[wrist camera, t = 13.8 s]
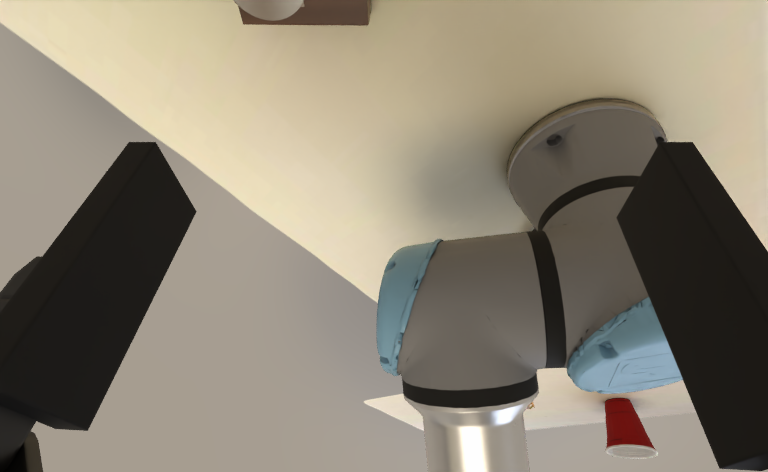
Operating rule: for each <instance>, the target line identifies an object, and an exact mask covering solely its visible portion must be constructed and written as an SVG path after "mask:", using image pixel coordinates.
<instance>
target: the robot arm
mask: <svg viewBox="0 0 768 472" xmlns="http://www.w3.org/2000/svg"><path fill="white" fill-rule="evenodd" d="M507 178H508V183H509V188H510V191H511V194H512V196H513V198H514V200H515V202H516V203H517V204H518V206H519V207H520V208H521V209H522V211H523V212H524V214H525V215H526V216H527V218H528V219H529V221H530V222H531V223H532V225H533V226H534V227H535V229H534V230H533V231H532V232H521V233H512V234H503V235H494V236H484V237H475V238H466V239H457V240H447V241H443V240H442V239H437V240H435V241H434V242H431V243H425V244H418V245H412V246H406V247H403V248H401V249H399V250H398V251H396V252H395V253H394V254H393V255H392V257H391V258H390V260H389V262H388V264H387V266H386V268H385V271H384V275H383V278H382V282H381V287H380V292H379V299H378V309H377V348H378V353H379V355H380V363H381V366H382V368H383V369H384V371H386V372H387V373H391V374H392V375H394V376H397V375H400V374H401V376H402V381H403V394H404V398H405V400H406V401H407V402H408V403H409V404H410V405H411V406H413V407H414V408H415V409H416V410H417V411H418V412H419V413H420V414H421V415H422V416H423V423H424V433H425V445H426V454H427V466H428V472H530V468H529V461H528V452H527V444H526V436H525V428H524V420H523V412H524V410H525V409H526V408H527V407H528V405H529V404H530V403H531V402H532V401H533V400H534V399H535V398H536V397H537V395H538V393H539V390H538V382H537V374H536V371H537V369H543V368H567V373H568V376H569V377H570V378H571V379H572V380H573V382H574V384H575V385H576V386H577V387H579V388H580V389H582V390H585V391H588V392H593V391H597V392H598V393H602V394H616V393H627V392H635V391H641V390H646V389H651V388H656V387H660V386H664V385H668V384H671V383H674V382H678V381H680V380H683V381H684V383H685V386H686V388H687V390H688V393H689V395H690V398H691V400H692V403H693V405H694V407H695V410H696V412H697V415H698V417H699V420H700V422H701V425H702V427H703V429H704V432H705V434H706V437H707V439H708V442H709V444H710V446H711V449H712V451H713V454H714V456H715V458H716V461H717V463H718V466H719V468H722V469H738V470H754V471H763V470H766V469H768V251H767V250H766V249H765V247H764V246H763V244H762V243H761V241H760V240H759V238H758V237H757V235H756V234H755V233H754V231H753V230H752V228H751V227H750V225H749V224H748V222H747V221H746V219H745V218H744V217H743V215H742V214H741V212H740V211H739V209H738V208H737V206H736V205H735V203H734V202H733V200H732V199H731V198H730V196H729V195H728V193H727V192H726V190H725V189H724V187H723V186H722V184H721V183H720V182H719V180H718V179H717V177H716V176H715V174H714V173H713V171H712V170H711V168H710V167H709V166H708V164H707V163H706V161H705V160H704V158H703V157H702V155H701V154H700V152H699V151H698V149H697V148H696V147H695V145H694V144H693V142H667V138H666V135H665V133H664V131H663V129H662V127H661V126H660V124H659V122H658V121H657V119H656V118H655V117H654V115H653V114H652V113H651V112H649V111H648V110H647V109H645V108H644V107H642V106H640V105H638V104H635V103H633V102H629V101H625V100H618V99H598V100H590V101H585V102H581V103H577V104H574V105H571V106H568V107H565V108H563V109H560V110H558V111H556V112H554V113H552V114H550V115H548V116H547V117H545V118H543V119H542V120H541V121H539V122H538V123H536V124H535V125H534V126H533V127H531V128H530V129H529V130H528V131H527V132H526V133H525V134H524V135H523V136H522V137H521V139H520V140H519V141H518V142H517V144H516V145H515V147H514V149H513V151H512V153H511V155H510V158H509V160H508V165H507ZM195 213H196V210H195V208H194V207H193V205H192V203H191V202H190V200H189V198H188V196H187V195H186V193H185V191H184V190H183V188H182V186H181V185H180V183H179V181H178V179H177V178H176V176H175V174H174V173H173V171H172V170H171V168H170V166H169V164H168V162H167V161H166V159H165V158H164V156H163V154H162V152H161V151H160V149H159V147H158V146H157V144H156V142H129V143H128V144H127V146H126V147H125V148H124V150H123V151H122V152H121V154H120V155H119V156H118V158H117V159H116V160H115V162H114V163H113V165H112V166H111V167H110V168H109V169H108V171H107V172H106V173H105V175H104V176H103V177H102V179H101V180H100V182H99V183H98V184H97V185H96V187H95V188H94V189H93V191H92V192H91V193H90V195H89V196H88V197H87V199H86V200H85V201H84V203H83V204H82V205H81V207H80V208H79V209H78V211H77V212H76V213H75V214H74V216H73V217H72V218H71V220H70V221H69V222H68V224H67V225H66V226H65V228H64V229H63V230H62V232H61V233H60V234H59V236H58V237H57V238H56V239H55V241H54V242H53V243H52V245H51V246H50V247H49V249H48V250H47V251H46V253H45V254H44V255H43V257H36V258H34V259H33V260H32V261H31V262H29V263H28V264H27V265H26V266H24V267H23V268H22V269H21V270H20V271H18V272H17V273H16V274H14V276H13V277H12V278H11V280H10V281H9V282H8V283H7V285H6V286H5V287H4V288H3V290H2V291H1V292H0V472H43V469H42V463H41V456H40V449H39V443H38V440H37V438H36V435H35V434H34V433H33V432H31V429H32V427H33V425H34V424H35V422H36V421H38V422H40V423H43V424H45V425H47V426H50V427H52V428H55V429H69V430H84V431H87V430H88V428H89V427H90V425H91V423H92V421H93V419H94V417H95V415H96V413H97V411H98V409H99V407H100V405H101V403H102V401H103V399H104V397H105V395H106V393H107V391H108V388H109V387H110V385H111V383H112V381H113V379H114V376H115V374H116V373H117V370H118V368H119V367H120V364H121V362H122V360H123V358H124V356H125V354H126V352H127V350H128V348H129V346H130V344H131V342H132V340H133V338H134V336H135V334H136V332H137V330H138V328H139V326H140V324H141V322H142V320H143V318H144V316H145V314H146V312H147V310H148V308H149V306H150V304H151V302H152V300H153V298H154V296H155V294H156V292H157V290H158V288H159V286H160V284H161V282H162V280H163V278H164V276H165V274H166V272H167V269H168V268H169V266H170V264H171V262H172V260H173V258H174V256H175V254H176V252H177V250H178V247H179V246H180V244H181V242H182V240H183V237H184V236H185V234H186V232H187V230H188V227H189V225H190V223H191V221H192V219H193V217H194V215H195Z"/></svg>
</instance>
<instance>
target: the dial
mask: <svg viewBox="0 0 768 472" xmlns="http://www.w3.org/2000/svg"><path fill="white" fill-rule="evenodd" d="M303 1H304V0H234V2H235V3H236V4H237V5H238V6H239V7H241V8H242V9H243V10H244V11H246V12H247V13H249V14H251V15H253V16H255V17H257V18H260V19H264V20H271V21H275V20H282V19H285V18H288V17H289V16H291V15H293V14H294V13H295V12H296V11H297V10H298V9H299V8H300V6H301V5H302V3H303Z"/></svg>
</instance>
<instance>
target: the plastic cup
mask: <svg viewBox="0 0 768 472" xmlns="http://www.w3.org/2000/svg"><path fill="white" fill-rule="evenodd" d="M605 412H606V427H607V447H606V449H605V451H606V453H607V454H610V455H612V456H616V457H622V458H634V459H638V458H639V459H641V458H650V457H655V456H657V455H658V452H657V451H656V449H655V448H654V447H653V445H652V443H651V442H650V439H649V437H648V436H647V434H646V432H645V429H644V427H643V425H642V423H641V421H640V419H639V417H638V415H637V413H636V412H635V409H634V407H633V405H632V403H631V402H630V400H628V399H625V398H615V399H610V400H607V401H606V402H605Z"/></svg>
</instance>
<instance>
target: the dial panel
mask: <svg viewBox="0 0 768 472" xmlns="http://www.w3.org/2000/svg"><path fill="white" fill-rule="evenodd" d="M238 7H239V6H238ZM239 10H240V14H241V17H242V21H243V24H266V25H368V24H369V19H370V14H371V1H370V0H304V1H303V3H302V5H301V6H300V8H299V9H298V10H297V11H296V12H295V13H294V14H293V15H291V16H289V17H288V18H285V19H282V20H275V21H271V20H264V19H260V18H257V17H255V16H253V15H251V14H249V13H247V12H246V11H244V10H243V9H242V8H241V7H239Z"/></svg>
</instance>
